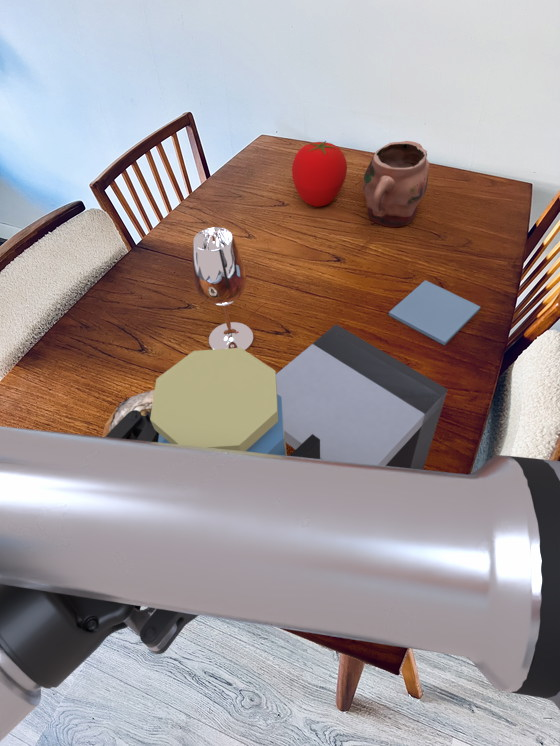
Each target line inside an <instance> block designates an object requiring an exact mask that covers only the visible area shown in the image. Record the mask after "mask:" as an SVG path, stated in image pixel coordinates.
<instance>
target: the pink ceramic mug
mask: <svg viewBox="0 0 560 746" xmlns="http://www.w3.org/2000/svg"><path fill="white" fill-rule="evenodd" d="M427 157H428V150H426V149H424V147H423V146H422V145H421V144H420V143H418V142H417V141H410V140H404V141H393V142H389V143H387V144H385V145H383V146H382V147H381V148H379V149H378V150H376V151H375V152H374V153H373V156H372V157H371V160H370V162H369V164H368V166H367V168H366V170H365V172H364V174H363V179H362V189H363V193H364V197H365V200H366V209H367V215H368V218H369V219H370V220H371V222H373V223H376V225H377V224H378V225H380V226H384V227H389V228H399V227H405V226H406V225H408V224H410V223H411V222H412V221H413V220H414V219H415V217H416V215H417V214H418V205H419V203H420V202H421V201H422V199H423V197H424V196H425V194H426V191H427V188H428V182H429V176H430V174H429V170H430V167H431V166H430V162H429V160H428V159H427Z"/></svg>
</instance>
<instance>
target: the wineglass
mask: <svg viewBox="0 0 560 746" xmlns="http://www.w3.org/2000/svg"><path fill="white" fill-rule="evenodd" d="M192 241H193V243H192V276H193V284H194V287H195V290H196V292H197V293H198V295H199V296H200V298H202V300H203V301H205V302H207V303H208V304H210V305H213V306H218V307H222V309H223V314H224V318H225V323H221V324H219V325H217V326H216V327H215V328H213V330H212V331H211V332H210V334H209V336H208V345H209V347H210V348H211V350H216V349H230V348H242V349H243V350H245V351H246V350H248V349H249V348H250V347H251V346H252V344H253V341H254V332H253V330H252V329H251V328H250V327H249V326H248V325H246V324H245V323H241V322H237V321H232V322H231V318H230V317H231V316H230V313H229V311H230V310H229V305H232V304H234V303H235V302H236V301H238V300H239V299H240V298H241V296H242V295H243V293H245V290H246V287H247V281H248V280H247V273H246V272H247V271H246V267H245V264H244V260H243V257H242V254H241V252H240V250H239V247H238V245H237V242H236V240H235V238H234V235H233V233H232V232H231V231H230V230H229V229H227V228H225V227H220V226H219V227H217V226H215V227H208V228H205V229H202V230H200V231H198V233H196V235H194V237H193V240H192Z"/></svg>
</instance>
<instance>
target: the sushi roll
mask: <svg viewBox="0 0 560 746" xmlns="http://www.w3.org/2000/svg"><path fill="white" fill-rule="evenodd" d="M154 391H155V389H148V390H145V391H142V392H139V393H135V394H134V395H132V396H130V397H128V398H126V399H124V401H121V402H120V403H119V405H118V406H117V407H116V408H115V409H114V410H113V412H112V413H111V415H110V416H109V417H108V418H107V421H106V422H105V425H104V427H103V429H102V430H103V431H102V436H101V437H105V436H106V435H107V434H108V433H109V432H110V431H111V430H112V429H113V428H114V427H115V426H116V425H117V424H118V423H119V422H120V421H121V420H122V419H123V418H124V417H125V416H126V415H127V414H128V413H129V412H130V411H133V410H137V411H139V412H140V413H141V415H143V416H145V415H146V414H147V413H149V412H151V410H152V404H153V397H154Z"/></svg>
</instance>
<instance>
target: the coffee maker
mask: <svg viewBox="0 0 560 746" xmlns="http://www.w3.org/2000/svg"><path fill="white" fill-rule="evenodd" d="M276 381H277V394H278V395H280V396H281V398H282V409H283V420H284V430H285V441H286V445H288V446H290V447H291V448H292V449H294V451H295V450H296V449H297V448H298V447H299V446H300V445H301V444H302V443H303V442H304V441H305V440H306V439H307V438H309V437H310V436H311V435H312V434H313V435H315V436H316V437H317V438H319V439H320V459H323V460H332V461H342V462H352V463H361V464H371V465H381V466H390V467H400V468H410V469H419V470H425V466H426V462H427V459H428V456H429V452H430V449H431V445H432V442H433V439H434V436H435V432H436V429H437V427H438V423H439V420H440V416H441V413H442V409H443V407H444V403H445V399H446V397H447V394H448V388H446V387H444V386H442V384H440V383H438V382H436V381H434V380H432V379H431V378H429V377H427V376H426V375H424V374H422V373H420V372H419V371H417V370H415V369H414V368H412V367H410V366H408V365H407V364H405V363H403V362H402V361H400V360H398V359H397V358H395V357H393V356H392V355H390V354H388V353H386V352H385V351H383V350H381V349H380V348H378V347H376V346H375V345H373V344H371V343H369V342H368V341H366V340H364V339H362V338H361V337H359V336H357V335H355V334H354V333H352V332H350V331H349V330H346V329H345V328H343V327H342V326H340V325H338V324H334V325H333V326H332V327H331V328H330V329H327V331H325V332H324V333H323V334H322V335H321V336H320V337H318V339H316V340H315V341H313V342H312V343H311V344H310V345H309V346H308V347H307V348H306V349H304V350H303V351H302V352H300V354H299V355H297V356H296V357H295V358H293V359H292V360H291V361H290V362H289V363H287V364H286V365H285V366H284V367H283V368H282V369H280V370H279V371H278V372H276Z"/></svg>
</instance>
